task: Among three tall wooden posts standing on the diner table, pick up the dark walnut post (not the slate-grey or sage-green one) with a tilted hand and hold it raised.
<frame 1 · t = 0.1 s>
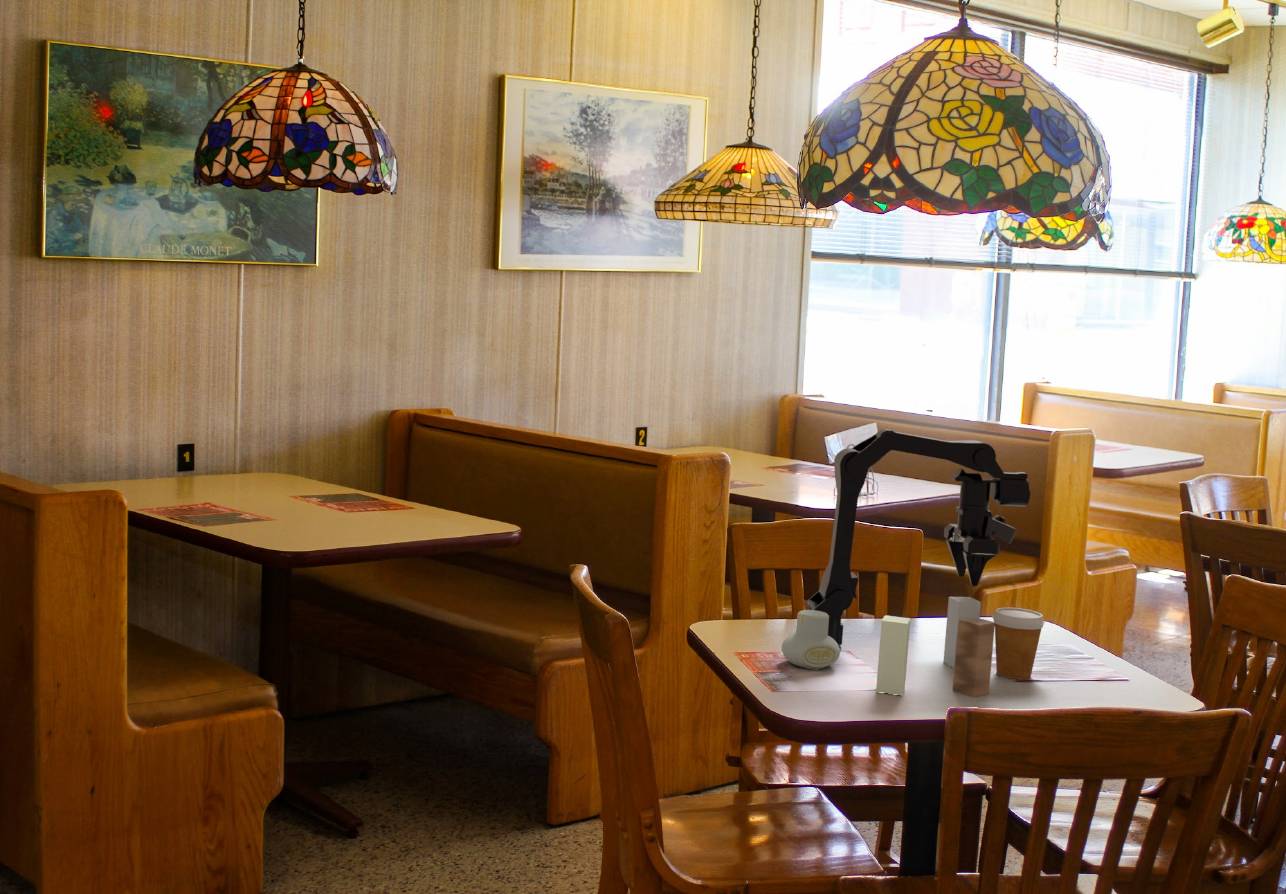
hand: (967, 581, 253), 15 cm above the table, tool pointing down, fingers open, 9 cm apart
air freshener: (809, 666, 239), on the table
sage post: (890, 691, 224), on the table
walnut post: (970, 692, 227), on the table
disposable coffee cup: (1013, 675, 240), on the table
grey post: (959, 665, 245), on the table
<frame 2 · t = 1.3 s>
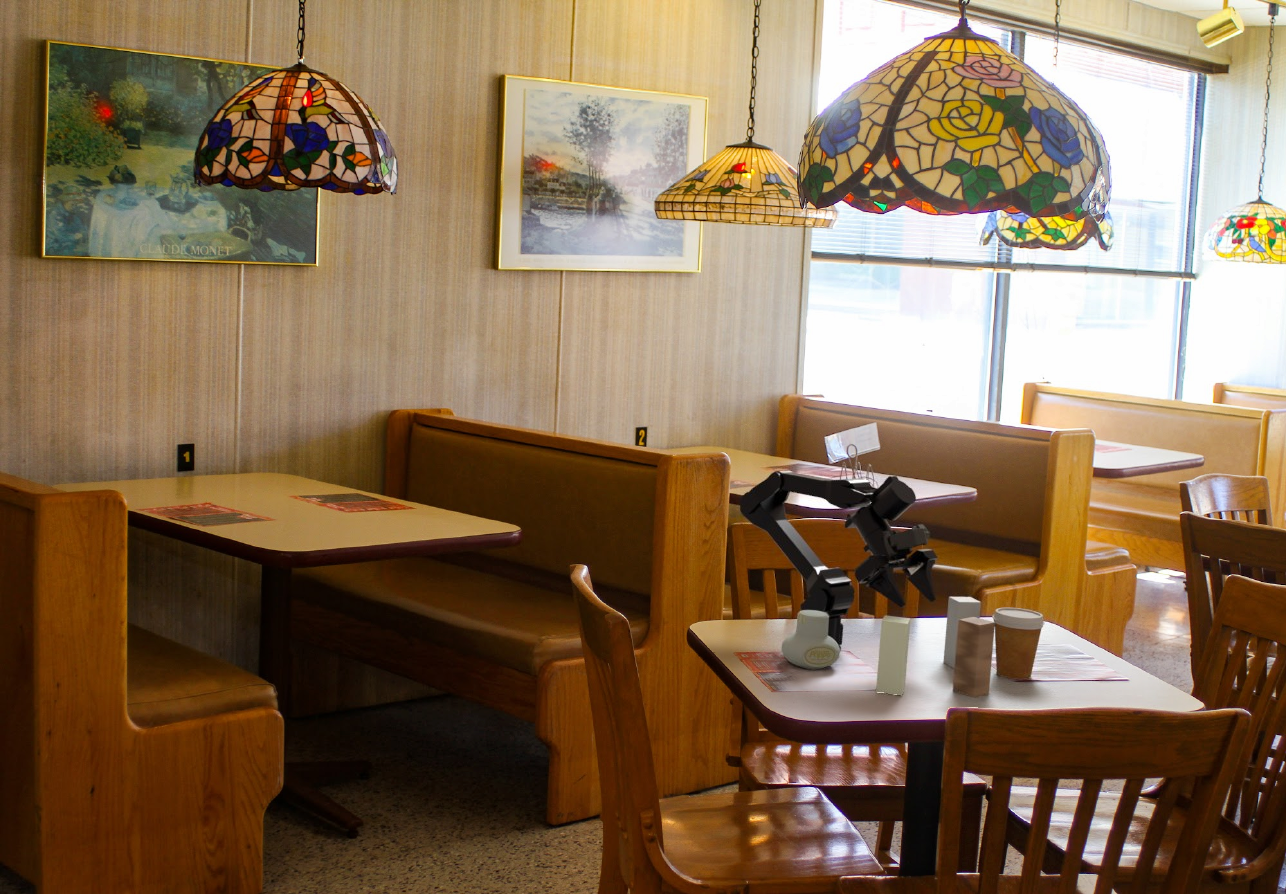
hand: (918, 603, 236), 13 cm above the table, tool tilted 45°, fingers open, 9 cm apart
nothing on the table moved.
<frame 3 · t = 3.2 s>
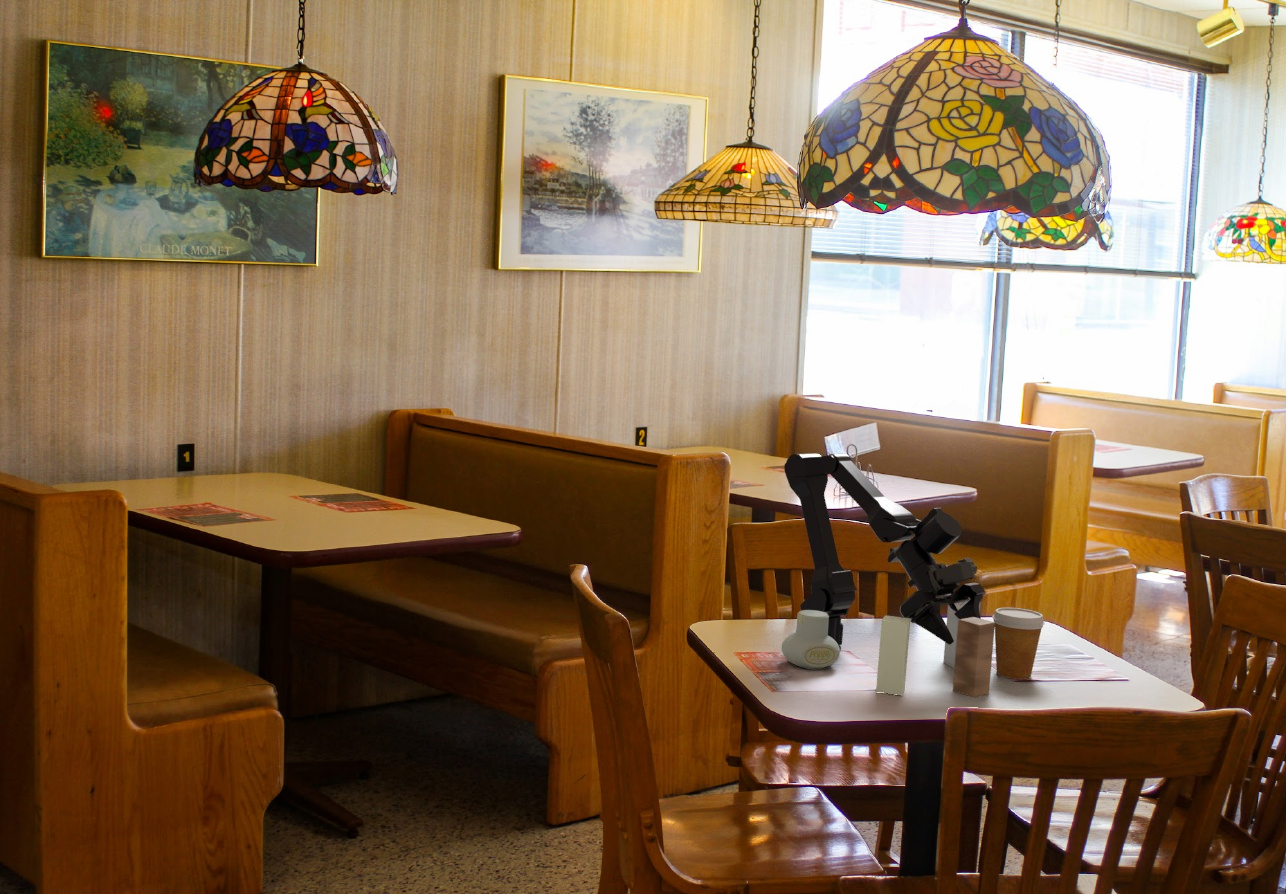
hand: (967, 640, 227), 9 cm above the table, tool tilted 45°, fingers open, 9 cm apart
nothing on the table moved.
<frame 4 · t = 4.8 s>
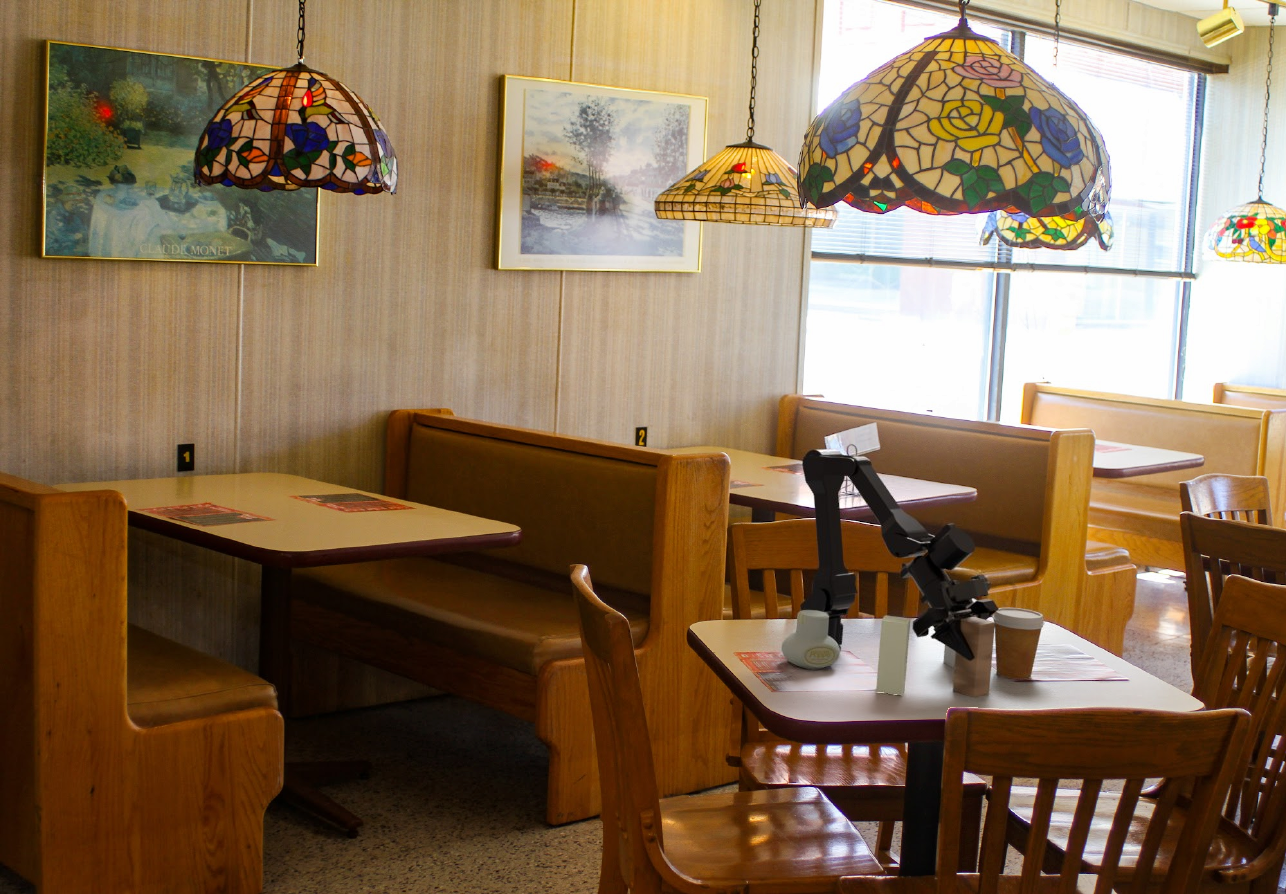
hand: (980, 657, 225), 7 cm above the table, tool tilted 45°, fingers closed on walnut post, 4 cm apart
walnut post: (970, 691, 227), on the table, touching gripper
everything else where it was.
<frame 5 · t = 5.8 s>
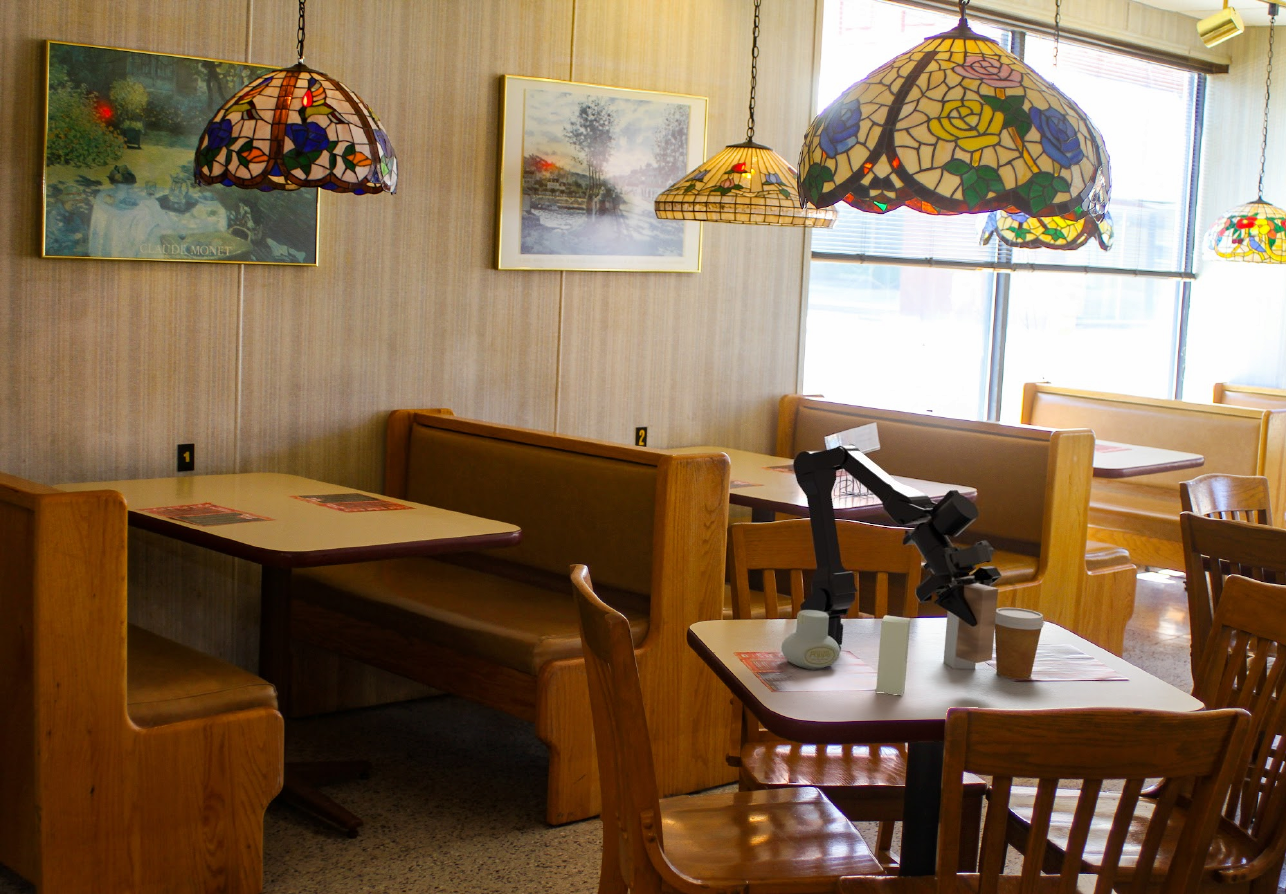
hand: (983, 623, 225), 13 cm above the table, tool tilted 45°, fingers closed on walnut post, 4 cm apart
walnut post: (973, 658, 226), point 6 cm above the table, touching gripper
everything else where it was.
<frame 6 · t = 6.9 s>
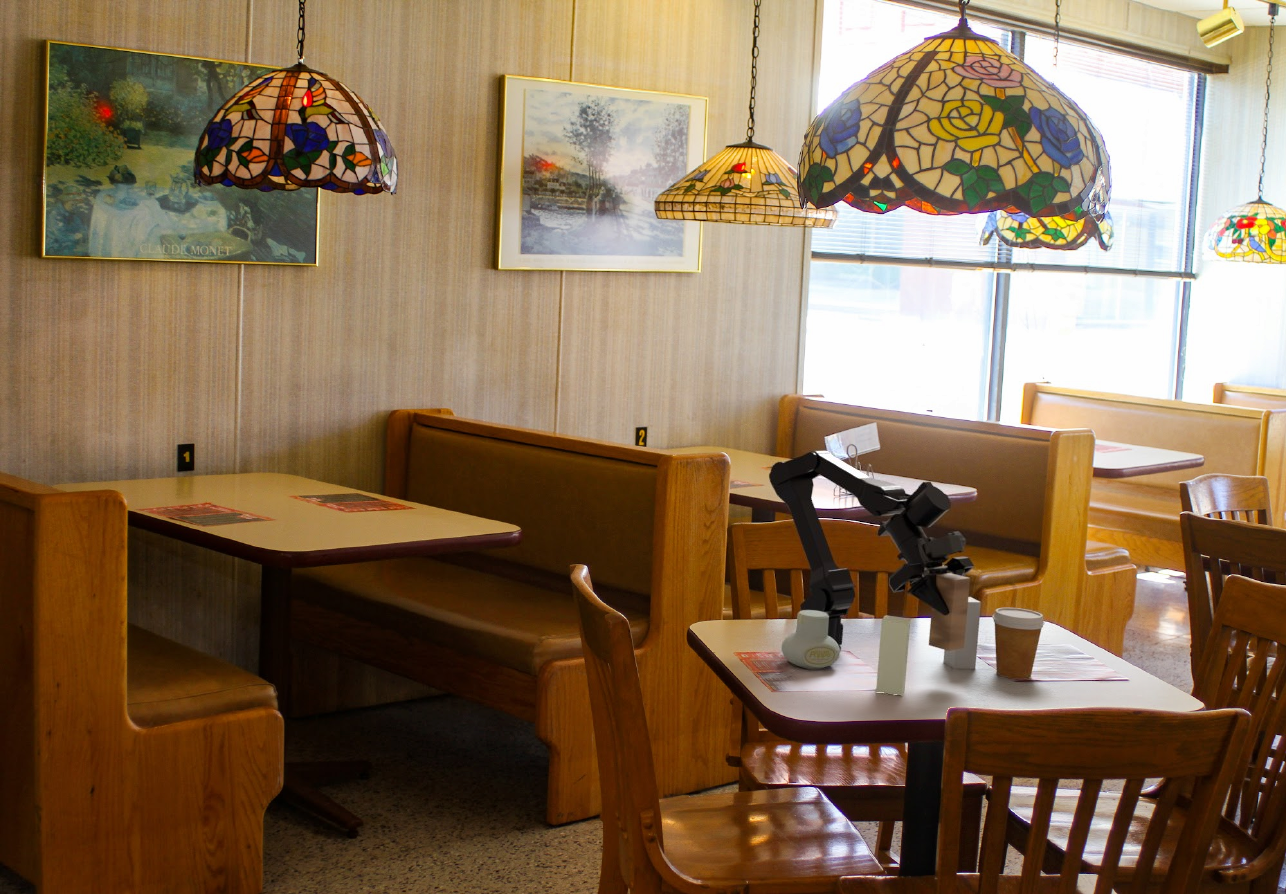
hand: (955, 612, 229), 13 cm above the table, tool tilted 45°, fingers closed on walnut post, 4 cm apart
walnut post: (946, 646, 231), point 7 cm above the table, touching gripper
everything else where it was.
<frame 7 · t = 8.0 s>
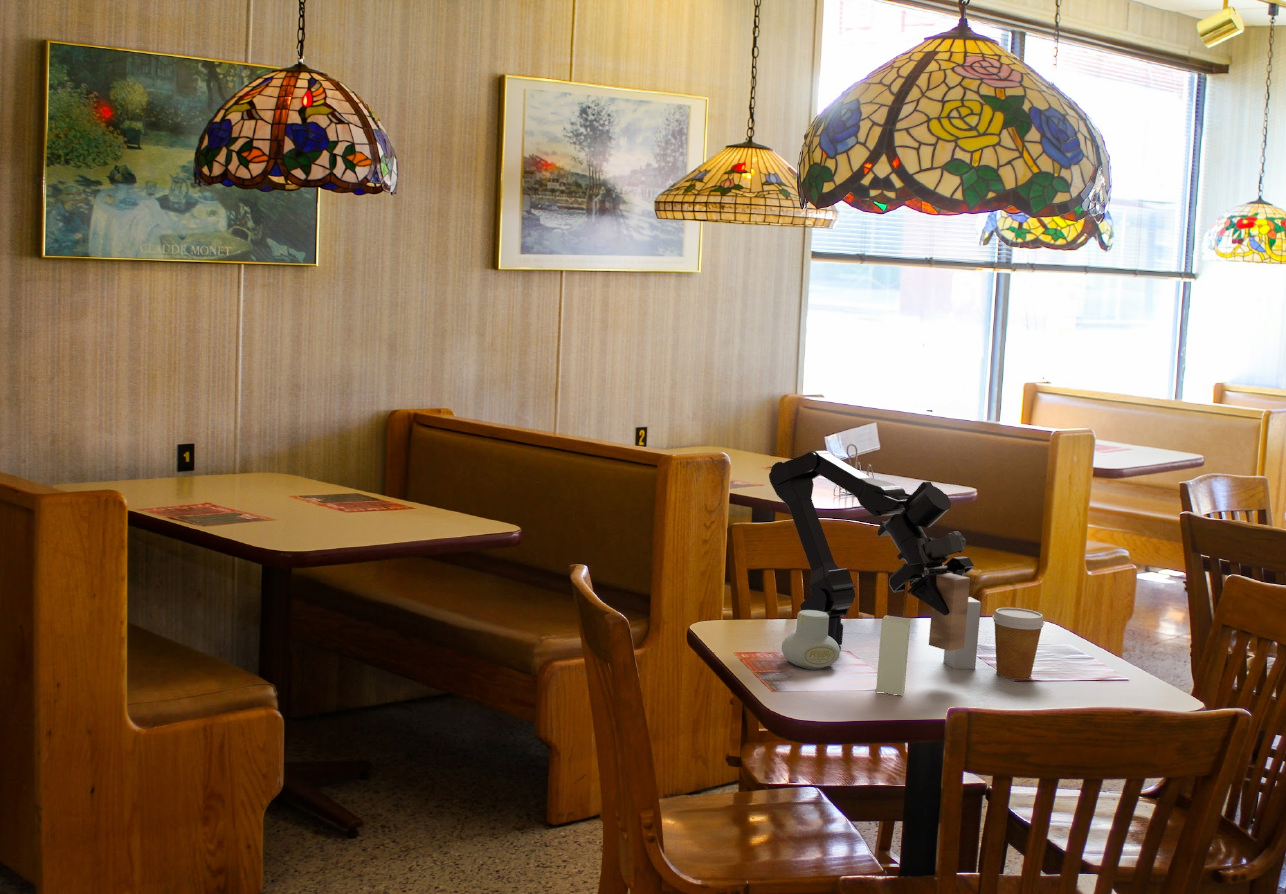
hand: (955, 612, 229), 13 cm above the table, tool tilted 45°, fingers closed on walnut post, 4 cm apart
walnut post: (946, 646, 231), point 7 cm above the table, touching gripper
everything else where it was.
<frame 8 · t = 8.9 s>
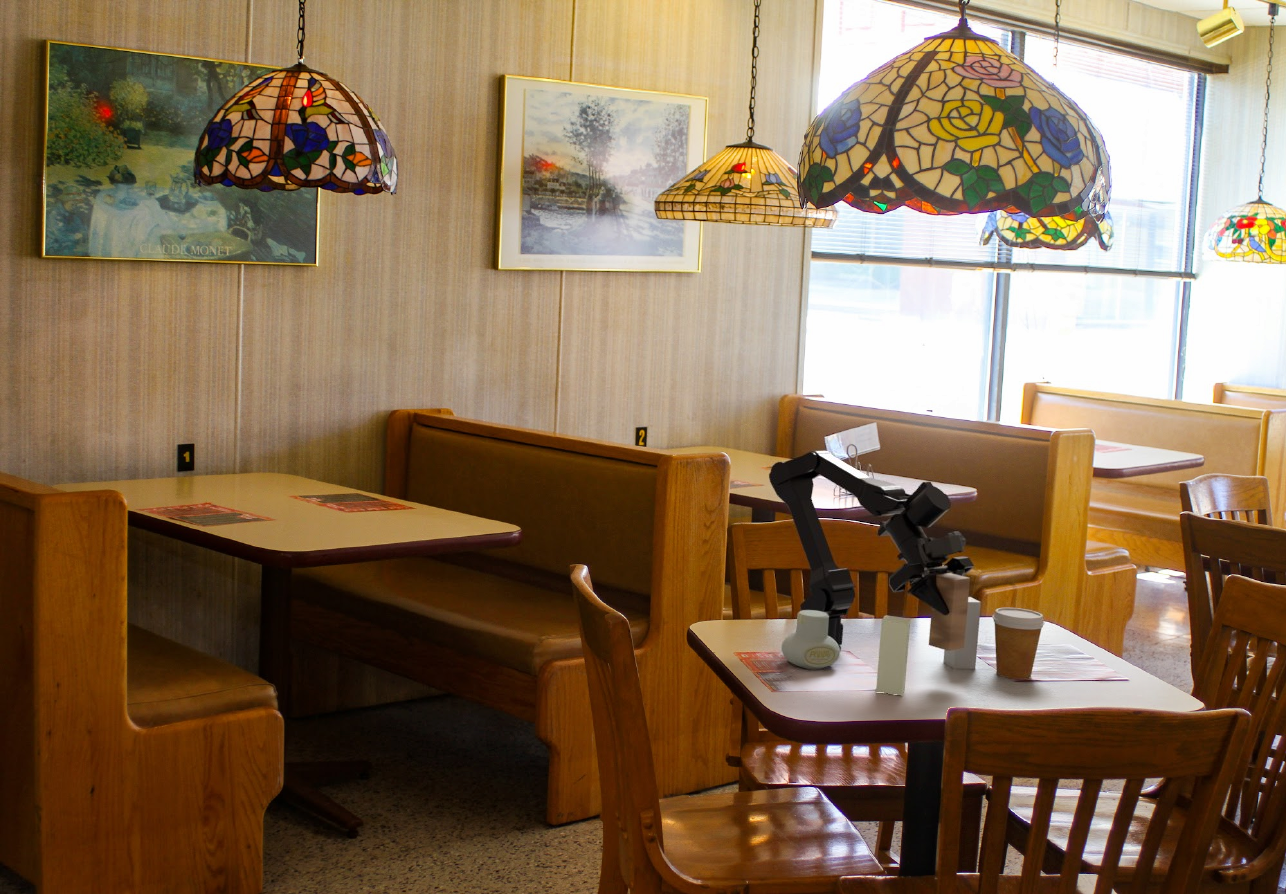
hand: (955, 612, 229), 13 cm above the table, tool tilted 45°, fingers closed on walnut post, 4 cm apart
walnut post: (946, 646, 231), point 7 cm above the table, touching gripper
everything else where it was.
at the end: the gripper is holding walnut post; walnut post point 6.9 cm above the table; grey post moved 0.0 cm from its start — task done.
